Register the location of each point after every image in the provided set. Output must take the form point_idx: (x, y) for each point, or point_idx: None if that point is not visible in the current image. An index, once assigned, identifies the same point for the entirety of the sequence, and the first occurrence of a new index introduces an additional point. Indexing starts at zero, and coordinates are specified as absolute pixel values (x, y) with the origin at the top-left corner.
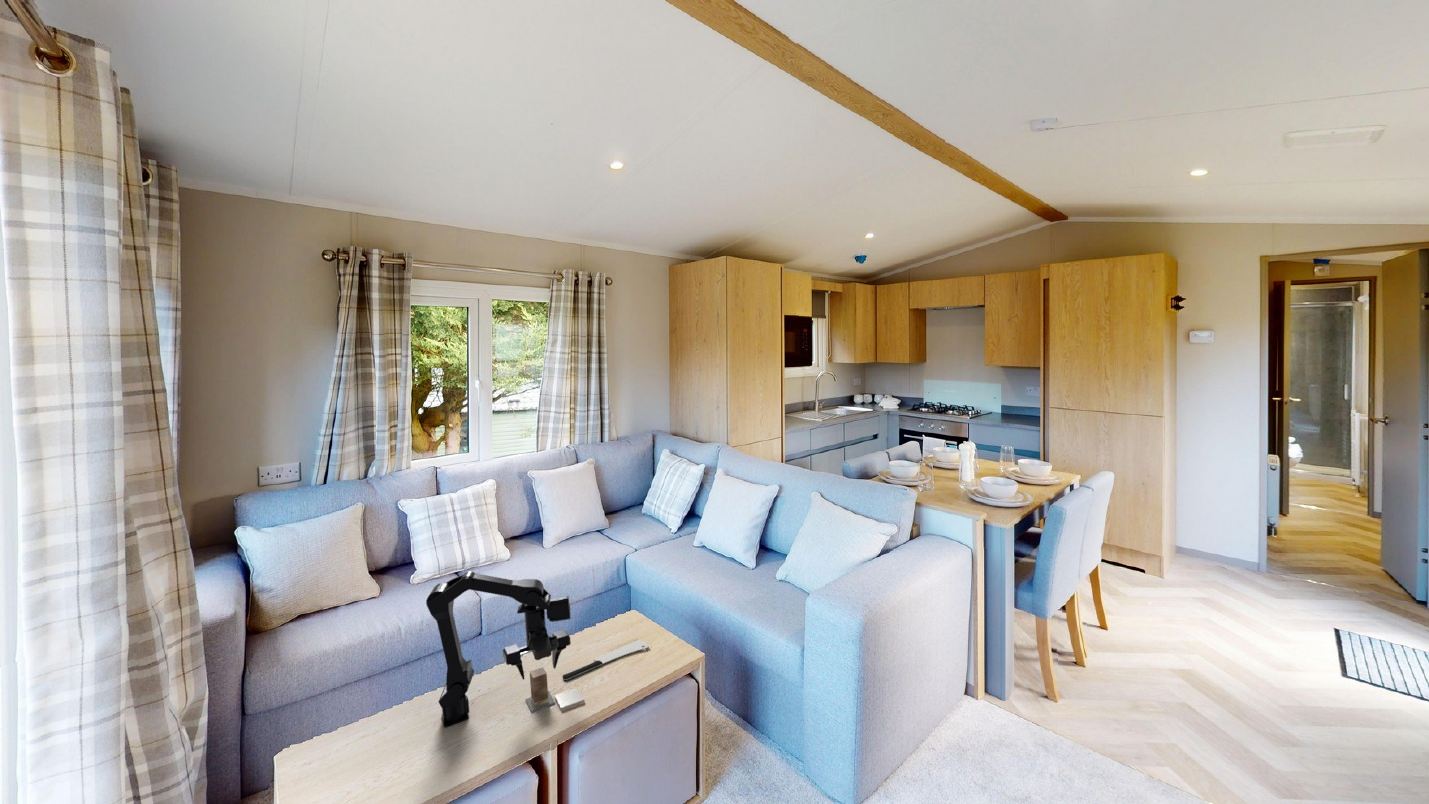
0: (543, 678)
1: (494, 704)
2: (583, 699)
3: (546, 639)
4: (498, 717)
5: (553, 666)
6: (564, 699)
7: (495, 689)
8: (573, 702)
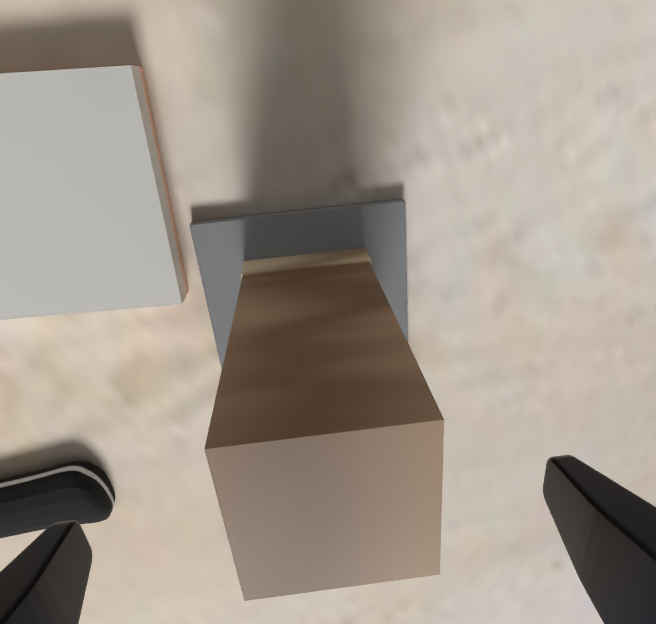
0: (267, 396)
1: (592, 419)
2: None
3: None
4: (627, 269)
5: (76, 565)
6: (90, 196)
7: (534, 544)
8: None
